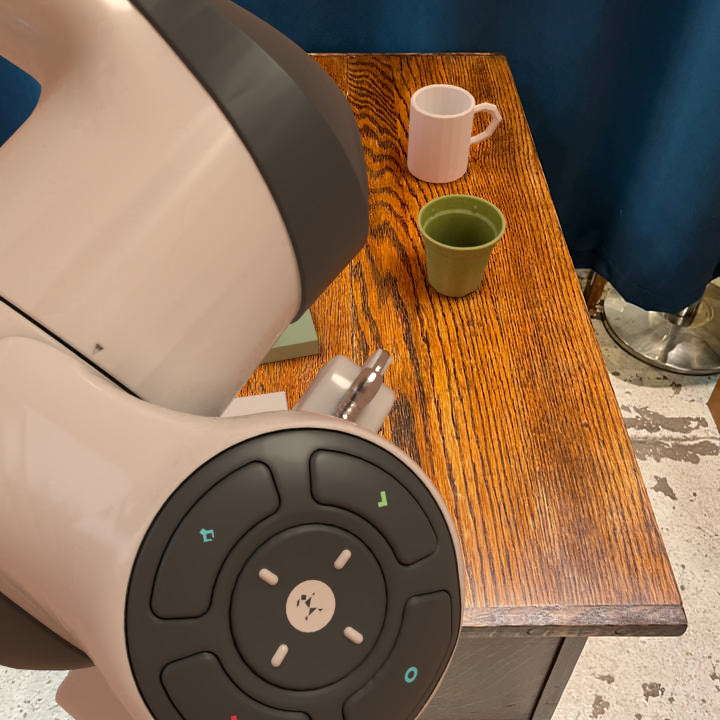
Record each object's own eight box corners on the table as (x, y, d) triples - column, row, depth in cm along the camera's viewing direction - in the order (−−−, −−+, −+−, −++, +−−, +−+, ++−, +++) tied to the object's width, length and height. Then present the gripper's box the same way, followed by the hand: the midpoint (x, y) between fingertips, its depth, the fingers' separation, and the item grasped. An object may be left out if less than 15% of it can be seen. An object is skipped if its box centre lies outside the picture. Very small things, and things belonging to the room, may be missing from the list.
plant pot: (491, 314, 83) (502, 254, 77) (407, 302, 84) (411, 242, 78) (498, 259, 89) (508, 199, 83) (419, 249, 90) (424, 189, 84)
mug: (501, 180, 100) (512, 112, 92) (412, 185, 99) (416, 118, 92) (488, 146, 105) (497, 80, 98) (403, 151, 104) (406, 85, 97)
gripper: (337, 300, 32) (299, 357, 46) (21, 739, 27) (82, 658, 40) (455, 385, 33) (382, 416, 46) (166, 833, 27) (178, 723, 41)
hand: (240, 532), depth 43 cm, fingers open, 8 cm apart
